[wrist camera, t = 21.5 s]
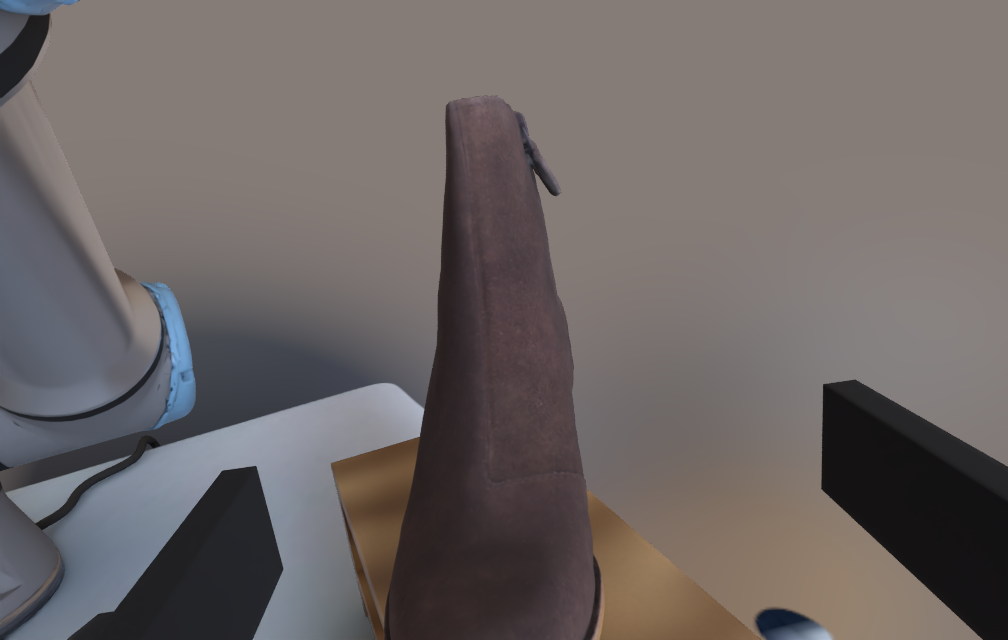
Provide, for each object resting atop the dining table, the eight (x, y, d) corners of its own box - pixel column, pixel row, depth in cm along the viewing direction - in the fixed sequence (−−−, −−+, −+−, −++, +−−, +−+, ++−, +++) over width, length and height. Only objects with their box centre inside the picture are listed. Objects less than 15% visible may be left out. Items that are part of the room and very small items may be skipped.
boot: (326, 816, 18) (126, 87, 12) (454, 435, 41) (404, 124, 35) (629, 814, 17) (555, 22, 11) (584, 425, 40) (553, 104, 34)
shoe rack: (362, 603, 42) (330, 462, 39) (517, 543, 46) (499, 412, 43) (547, 1219, 17) (497, 956, 14) (849, 966, 21) (858, 722, 18)
